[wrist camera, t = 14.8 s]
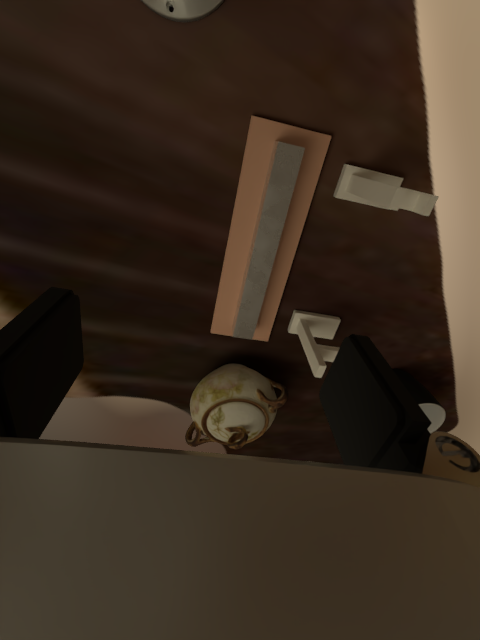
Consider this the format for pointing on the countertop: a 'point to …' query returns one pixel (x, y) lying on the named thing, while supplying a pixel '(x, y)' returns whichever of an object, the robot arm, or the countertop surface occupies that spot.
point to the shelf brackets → (366, 191)
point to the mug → (423, 399)
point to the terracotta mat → (246, 215)
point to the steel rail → (266, 235)
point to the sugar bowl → (233, 406)
